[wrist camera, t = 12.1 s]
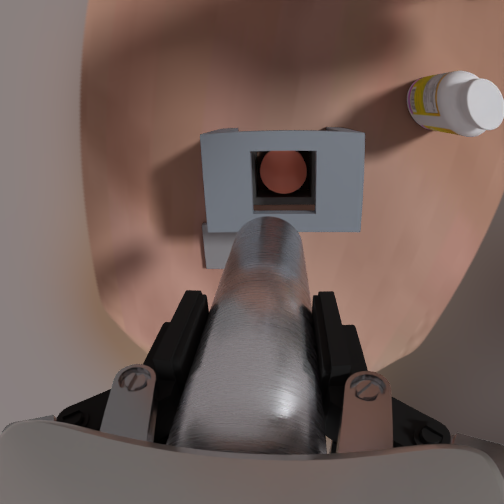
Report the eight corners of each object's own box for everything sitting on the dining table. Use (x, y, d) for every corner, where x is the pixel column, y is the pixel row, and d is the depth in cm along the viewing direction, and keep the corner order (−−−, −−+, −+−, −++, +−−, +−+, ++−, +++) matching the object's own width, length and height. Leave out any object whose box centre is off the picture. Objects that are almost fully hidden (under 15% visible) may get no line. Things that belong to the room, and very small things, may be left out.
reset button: (304, 145, 34) (306, 148, 31) (304, 187, 36) (306, 193, 33) (260, 146, 34) (259, 148, 32) (262, 187, 36) (260, 193, 34)
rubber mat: (267, 221, 39) (267, 224, 39) (268, 266, 42) (268, 268, 41) (203, 222, 40) (201, 225, 39) (207, 265, 43) (206, 268, 42)
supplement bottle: (459, 110, 31) (522, 118, 19) (426, 140, 33) (483, 156, 21) (429, 67, 29) (487, 55, 17) (394, 96, 31) (444, 91, 20)
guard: (343, 127, 34) (364, 133, 25) (341, 202, 37) (360, 232, 28) (220, 128, 35) (199, 134, 26) (225, 202, 39) (207, 232, 30)
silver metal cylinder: (303, 216, 18) (343, 453, 5) (301, 279, 19) (317, 515, 7) (231, 216, 18) (136, 439, 5) (235, 279, 20) (177, 506, 7)
